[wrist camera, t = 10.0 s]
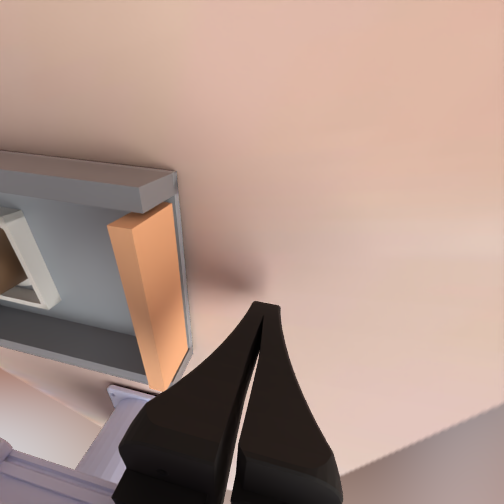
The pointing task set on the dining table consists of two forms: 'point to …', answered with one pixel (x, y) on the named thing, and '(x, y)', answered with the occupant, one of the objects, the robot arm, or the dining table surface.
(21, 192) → the housing
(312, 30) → the dining table surface
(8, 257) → the brown rounded block
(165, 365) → the gate
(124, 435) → the robot arm
